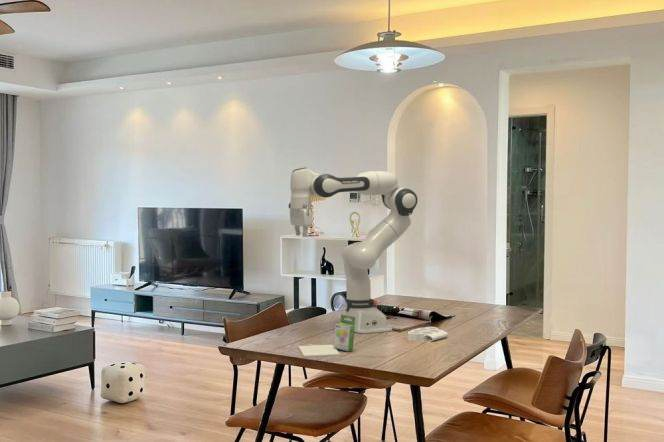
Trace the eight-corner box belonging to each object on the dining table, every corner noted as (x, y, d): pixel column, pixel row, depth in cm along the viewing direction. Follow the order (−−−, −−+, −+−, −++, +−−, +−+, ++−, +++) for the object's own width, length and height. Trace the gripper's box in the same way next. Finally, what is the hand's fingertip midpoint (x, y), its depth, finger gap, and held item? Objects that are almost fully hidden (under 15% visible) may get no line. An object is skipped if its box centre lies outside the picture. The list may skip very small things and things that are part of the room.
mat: (332, 346, 268) (332, 344, 268) (340, 355, 252) (340, 353, 252) (298, 347, 265) (298, 346, 265) (304, 357, 249) (304, 355, 249)
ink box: (333, 348, 261) (336, 315, 260) (338, 347, 264) (341, 314, 264) (347, 351, 257) (350, 317, 256) (353, 350, 260) (356, 317, 260)
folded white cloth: (428, 344, 272) (400, 339, 282) (452, 337, 285) (424, 332, 295) (428, 336, 272) (400, 331, 282) (452, 329, 285) (424, 325, 295)
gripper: (315, 204, 279) (316, 237, 279) (300, 204, 298) (301, 234, 298) (301, 205, 276) (301, 237, 277) (287, 204, 296) (287, 235, 296)
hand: (301, 236), depth 288 cm, fingers open, 8 cm apart
